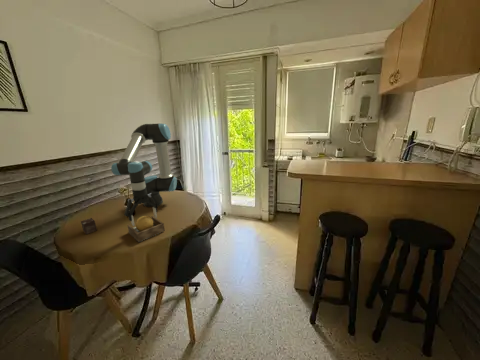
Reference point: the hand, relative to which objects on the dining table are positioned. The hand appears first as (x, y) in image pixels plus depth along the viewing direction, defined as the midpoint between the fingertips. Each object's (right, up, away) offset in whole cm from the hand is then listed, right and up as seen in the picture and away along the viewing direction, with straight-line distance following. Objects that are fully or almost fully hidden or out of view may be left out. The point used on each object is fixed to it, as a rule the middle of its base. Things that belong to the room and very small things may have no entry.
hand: (144, 221), depth 124 cm
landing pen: (0, -7, +2) cm, 8 cm away
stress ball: (0, -7, +2) cm, 7 cm away
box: (-37, -8, +5) cm, 38 cm away
